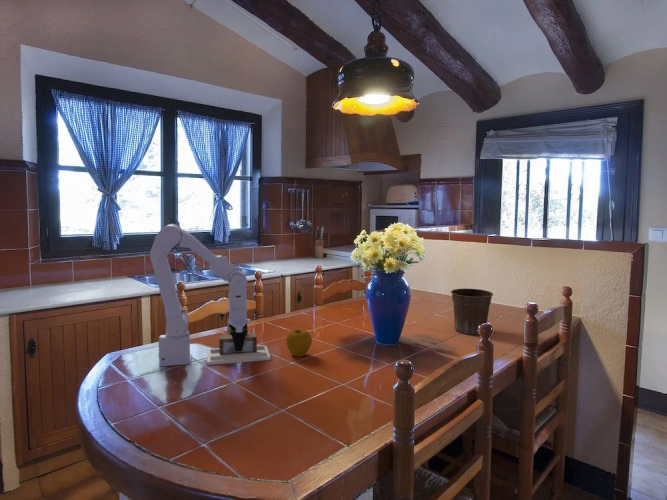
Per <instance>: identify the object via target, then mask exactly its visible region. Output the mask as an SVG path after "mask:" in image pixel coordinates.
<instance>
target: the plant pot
mask: <svg viewBox="0 0 667 500" xmlns="http://www.w3.org/2000/svg"><path fill="white" fill-rule="evenodd" d="M450 293H451V295H452V297H451V298H452V299H451V300H452V302H453V303H452V304H453V314H454V330H455V332H458V333H460V334H463V335H468V336H478V331H477V330H478V326H479V325H481V324H483V323H487V324H488V317H489V314H490V313H489V312H490V306H491V303H492V298H493V296H494V293H493V292H492V291H488V290H485V289H479V288H456V289H455V288H454V289H452V290H451V291H450Z"/></svg>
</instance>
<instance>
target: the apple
mask: <svg viewBox="0 0 667 500" xmlns="http://www.w3.org/2000/svg"><path fill="white" fill-rule="evenodd" d="M285 338H286V347H287V349H288V351H289V353H290V354H291V355H292V356H294V357H297V358H300V357H304V356H305V355H307V353H308V351H309V349H310V348H311V345H312V342H313V338H312V336H311V334H310V333H309V332H308V331H307V330H305V329H300V328H299V329H298V328H296V329H292V330H289V332H288V333H287V335H286V337H285Z"/></svg>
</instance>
